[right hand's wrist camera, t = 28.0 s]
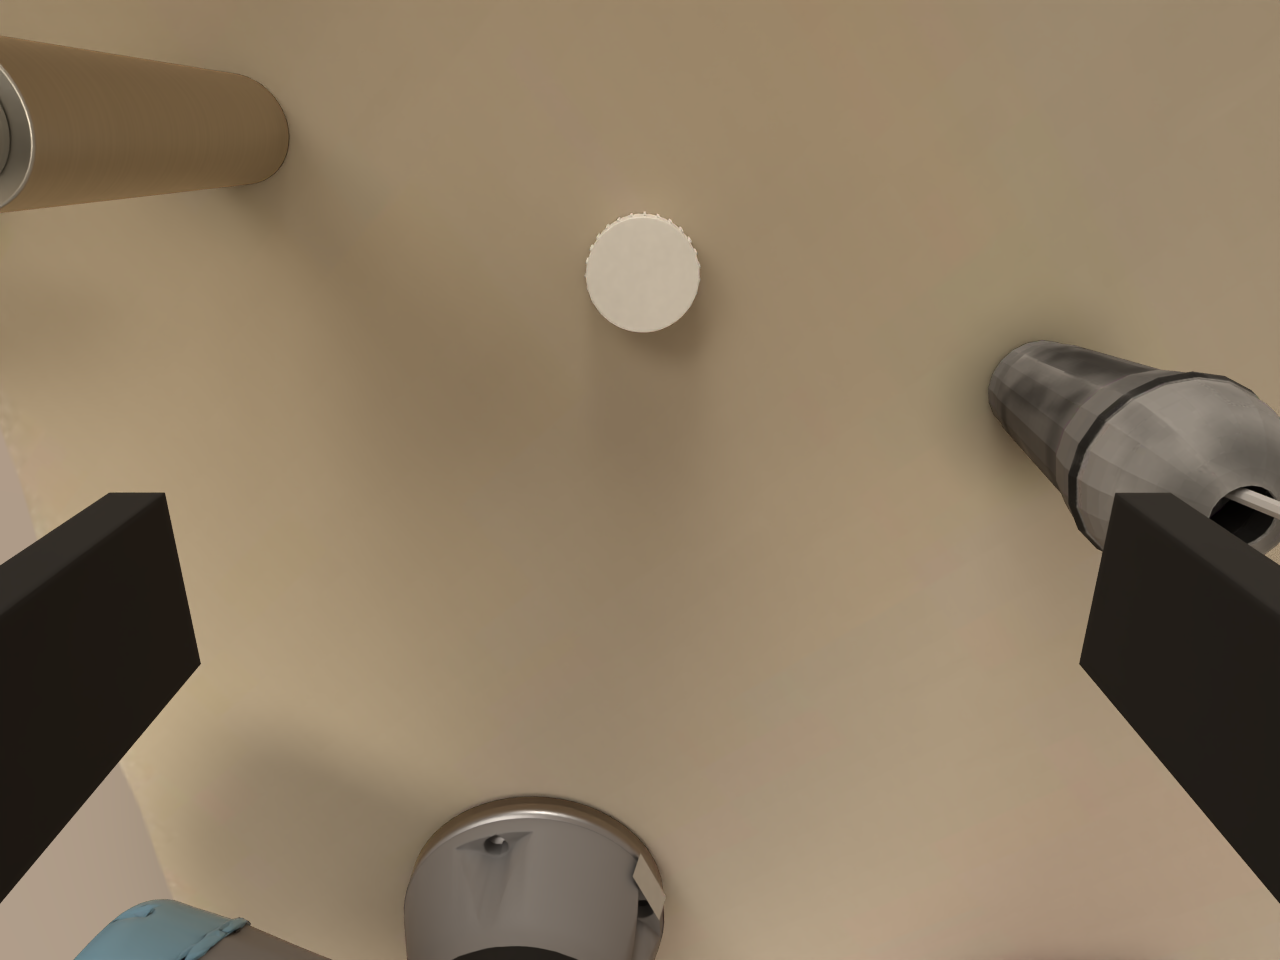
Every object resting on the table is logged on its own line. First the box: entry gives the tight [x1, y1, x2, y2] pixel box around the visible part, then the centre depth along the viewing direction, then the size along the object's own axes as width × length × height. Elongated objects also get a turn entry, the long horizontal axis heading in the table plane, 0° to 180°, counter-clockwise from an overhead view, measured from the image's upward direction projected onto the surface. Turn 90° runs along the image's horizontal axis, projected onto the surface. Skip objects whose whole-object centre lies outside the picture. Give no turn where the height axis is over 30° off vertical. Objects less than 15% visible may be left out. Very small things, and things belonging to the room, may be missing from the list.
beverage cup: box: [988, 340, 1280, 555], centre depth 33 cm, size 7×7×20 cm
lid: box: [585, 212, 701, 333], centre depth 39 cm, size 5×5×2 cm
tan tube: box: [0, 36, 289, 213], centre depth 29 cm, size 4×4×19 cm
